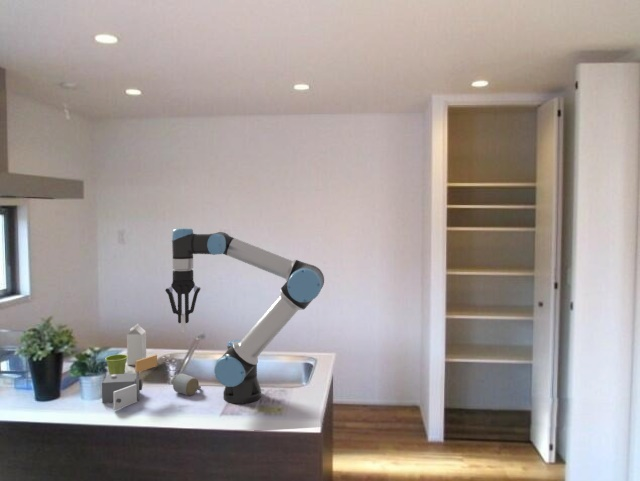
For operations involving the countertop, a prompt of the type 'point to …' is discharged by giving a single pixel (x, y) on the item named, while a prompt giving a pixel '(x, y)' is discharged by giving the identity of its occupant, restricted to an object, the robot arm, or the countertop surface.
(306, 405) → the countertop surface
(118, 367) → the plant pot
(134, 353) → the milk carton
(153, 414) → the countertop surface
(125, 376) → the box
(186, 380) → the ceramic mug
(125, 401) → the side door
